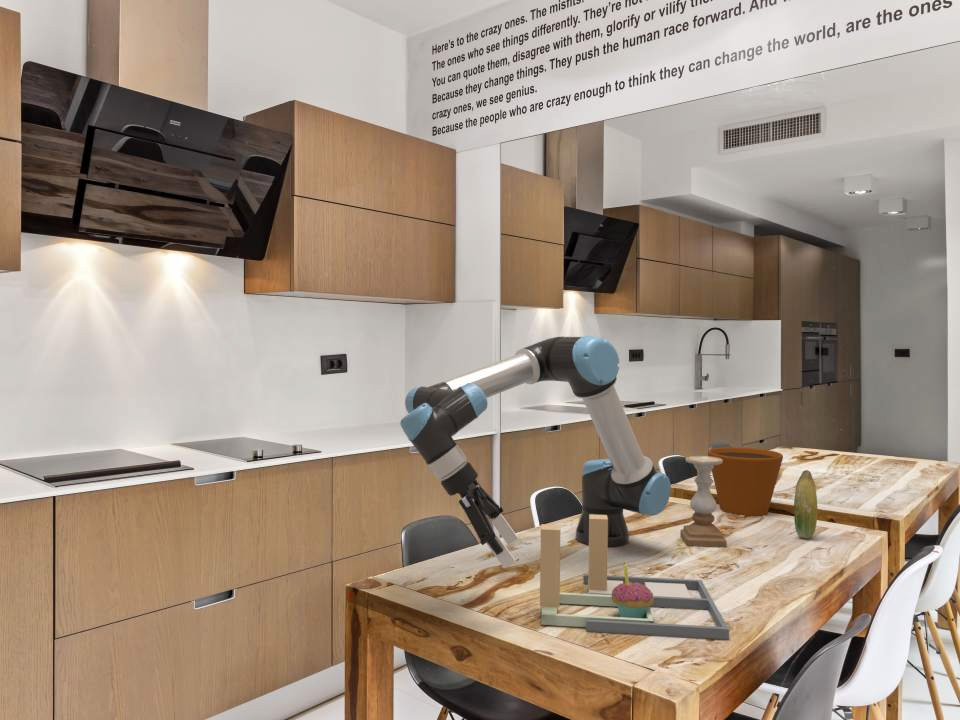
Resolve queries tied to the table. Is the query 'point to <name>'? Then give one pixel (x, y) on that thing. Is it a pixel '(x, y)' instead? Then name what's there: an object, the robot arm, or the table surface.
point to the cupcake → (632, 598)
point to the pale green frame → (553, 597)
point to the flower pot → (745, 479)
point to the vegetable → (805, 506)
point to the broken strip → (599, 564)
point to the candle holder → (703, 507)
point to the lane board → (668, 602)
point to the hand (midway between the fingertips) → (511, 552)
